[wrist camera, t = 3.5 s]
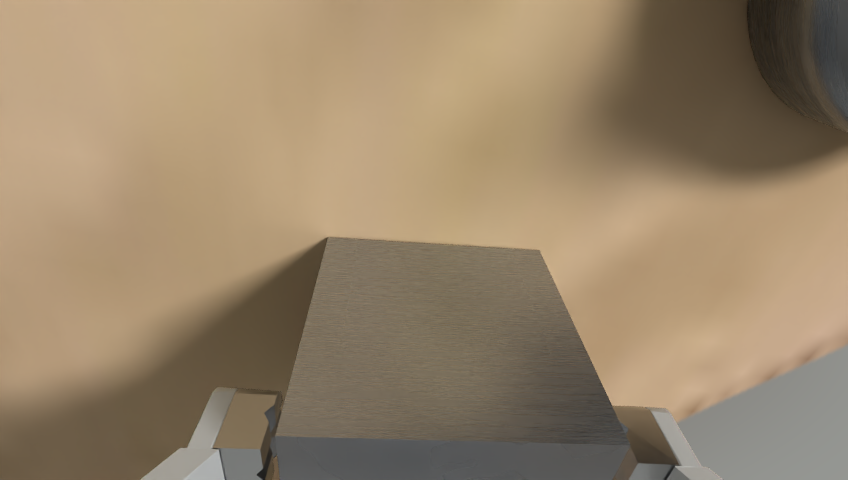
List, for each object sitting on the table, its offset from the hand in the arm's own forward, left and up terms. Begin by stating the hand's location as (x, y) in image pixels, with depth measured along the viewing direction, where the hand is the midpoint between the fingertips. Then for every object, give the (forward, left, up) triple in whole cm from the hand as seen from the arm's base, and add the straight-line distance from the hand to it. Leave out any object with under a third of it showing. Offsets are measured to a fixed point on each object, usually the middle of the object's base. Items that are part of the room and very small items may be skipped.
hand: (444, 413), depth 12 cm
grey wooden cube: (0, 0, -3) cm, 3 cm away
